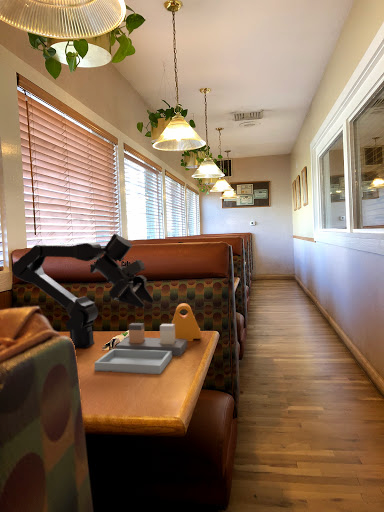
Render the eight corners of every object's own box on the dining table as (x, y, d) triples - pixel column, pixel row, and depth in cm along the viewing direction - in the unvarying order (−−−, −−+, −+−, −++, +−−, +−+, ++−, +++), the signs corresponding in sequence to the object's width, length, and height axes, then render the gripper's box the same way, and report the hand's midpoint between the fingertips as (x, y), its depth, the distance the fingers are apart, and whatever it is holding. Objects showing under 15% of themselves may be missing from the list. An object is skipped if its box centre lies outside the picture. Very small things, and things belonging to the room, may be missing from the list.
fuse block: (116, 353, 113) (116, 345, 112) (127, 344, 121) (127, 337, 121) (180, 355, 109) (180, 347, 108) (187, 346, 117) (187, 338, 117)
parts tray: (94, 370, 98) (94, 362, 98) (113, 356, 110) (112, 348, 110) (160, 374, 95) (159, 365, 95) (171, 358, 106) (171, 351, 106)
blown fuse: (129, 350, 115) (128, 325, 114) (132, 347, 118) (131, 323, 117) (141, 351, 114) (141, 325, 114) (144, 348, 117) (144, 323, 116)
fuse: (160, 351, 113) (159, 325, 112) (163, 349, 116) (162, 323, 115) (173, 352, 112) (172, 326, 112) (175, 349, 115) (174, 324, 114)
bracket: (199, 335, 131) (198, 301, 130) (200, 340, 124) (199, 305, 123) (169, 336, 131) (168, 302, 130) (168, 342, 123) (167, 306, 123)
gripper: (115, 252, 107) (155, 288, 105) (138, 251, 125) (172, 282, 123) (92, 281, 109) (131, 317, 107) (118, 276, 127) (152, 307, 125)
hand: (148, 304), depth 115 cm, fingers open, 9 cm apart
